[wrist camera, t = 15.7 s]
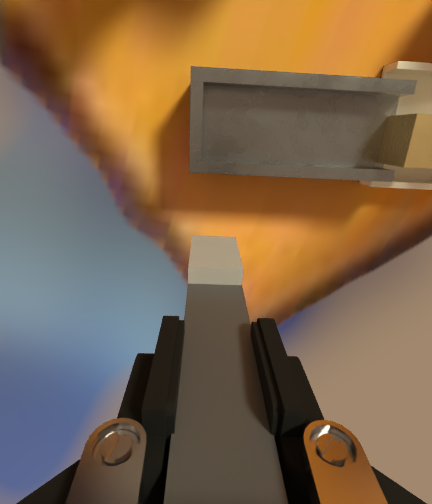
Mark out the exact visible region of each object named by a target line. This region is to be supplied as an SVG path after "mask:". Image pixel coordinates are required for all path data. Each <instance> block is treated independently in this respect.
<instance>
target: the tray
mask: <svg viewBox="0 0 432 504" xmlns="http://www.w3.org/2000/svg"><path fill="white" fill-rule="evenodd" d="M381 78H389V79H405V80H417V84H416V88H415V92H414V94H413V95H407V96H402V97H399V102H398V106H397V110H396V115H406V114H417V113H418V114H432V63H424V62H409V61H397V62H394V63H391V64H389V65H386V66H383V71H382V76H381ZM383 168H385V169H390V170H395V173H394V177H393V181H392V182H380V181H359V183H360V184H363V185H366V186H369V187H381V188H403V189H425V190H432V169H428V168H407V167H399V166H393V165H387V164H384V166H383Z"/></svg>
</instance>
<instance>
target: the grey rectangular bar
mask: <svg viewBox="0 0 432 504" xmlns="http://www.w3.org/2000/svg"><path fill="white" fill-rule="evenodd" d="M242 279H243V266H242V261H241V257H240V253H239V249H238V245H237V241H236V237H218V236H192V242H191V250H190V258H189V267H188V289H187V299H186V307H185V317H184V320H185V334H184V344H183V353H182V363H181V373H180V383H179V393H178V402H177V412H176V422H175V432H174V434H171V442H170V451H169V460H168V469H167V478H166V487H165V496H164V504H288V500H287V495H286V490H285V486H284V481H283V476H282V472H281V467H280V462H279V458H278V453H277V448H276V443H275V439H274V435H271V433H270V428H269V423H268V418H267V413H266V408H265V403H264V398H263V394H262V389H261V384H260V379H259V374H258V369H257V364H256V359H255V354H254V349H253V344H252V339H251V334H250V332H251V326H250V321H249V316H248V312H247V307H246V302H245V298H244V293H243V288H242Z"/></svg>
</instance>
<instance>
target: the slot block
mask: <svg viewBox="0 0 432 504" xmlns="http://www.w3.org/2000/svg"><path fill="white" fill-rule="evenodd" d="M416 84H417V80H405V79H389V78H373V77H356V76H340V75H324V74H308V73H292V72H276V71H260V70H243V69H227V68H211V67H195V66H191V91H190V147H189V173H208V174H230V175H251V176H273V177H294V178H316V179H337V180H359V181H380V182H392V181H393V177H394V173H395V170H390V169H385V168H383V166H384V164H381V163H378V159H379V155H380V150H381V146H382V141H383V137H384V132H385V128H386V124H387V119H388V116H394V115H396V110H397V106H398V102H399V97H402V96H407V95H413V94H414V92H415V88H416Z"/></svg>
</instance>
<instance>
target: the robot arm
mask: <svg viewBox="0 0 432 504" xmlns="http://www.w3.org/2000/svg"><path fill="white" fill-rule="evenodd" d="M184 334H185V320H179V316H163V319H162V324H161V328H160V332H159V337H158V341H157V345H156V349H155V354H144V353H138V354H137V356H136V359H135V362H134V365H133V369H132V372H131V375H130V378H129V381H128V385H127V388H126V391H125V394H124V397H123V401H122V404H121V407H120V410H119V413H118V417H117V419H112V420H110V421H107V422H105V423H103V424H102V425H101V426H99V427H98V428H97V429H95V431H94V432H93V433H92V434H91V435H90V436H89V439H88V440H87V442H86V444H85V447H84V451H83V453H82V456H81V459H80V460H78V461H77V462H76V463H74V464H73V465H71V466H70V467H68V468H67V469H65V470H64V471H62V472H61V473H60V474H58V475H57V476H55V477H54V478H53V479H51V480H50V481H48V482H47V483H45V484H44V485H42V486H41V487H40V488H38V489H37V490H35V491H34V492H33V493H31V494H30V495H28V496H27V497H25V498H24V499H22V500H21V501H20V502H18V503H17V504H164V496H165V487H166V478H167V469H168V460H169V451H170V442H171V434H174V432H175V422H176V412H177V402H178V393H179V383H180V373H181V363H182V353H183V344H184ZM250 334H251V339H252V344H253V349H254V354H255V359H256V364H257V369H258V374H259V379H260V384H261V389H262V394H263V398H264V403H265V408H266V413H267V418H268V423H269V428H270V433H271V435H274V439H275V443H276V448H277V453H278V458H279V462H280V467H281V472H282V476H283V481H284V486H285V490H286V495H287V500H288V504H426V503H425V502H423V501H422V500H421V499H419V498H418V497H416V496H415V495H413V494H411V493H410V492H409V491H407V490H406V489H404V488H403V487H401V486H400V485H399V484H397V483H396V482H394V481H393V480H391V479H390V478H388V477H387V476H385V475H384V474H382V473H381V472H379V471H378V470H376V469H375V468H374V467H372V466H371V465H370V463H369V461H368V459H367V457H366V454H365V453H364V450H363V448H362V446H361V444H360V442H359V441H358V439H357V438H356V437H355V436H354V435H353V434H352V433H351V432H350V431H349V430H348V429H347V428H345V427H344V426H342V425H340V424H338V423H335V422H333V421H328V420H324V418H323V415H322V413H321V410H320V408H319V406H318V403H317V401H316V398H315V396H314V394H313V391H312V389H311V386H310V384H309V381H308V379H307V376H306V374H305V371H304V369H303V367H302V365H301V362H300V360H299V358H298V357H294V356H287V354H286V351H285V348H284V346H283V343H282V340H281V337H280V335H279V332H278V329H277V326H276V323H275V321H274V319H272V318H258V319H257V322H252V324H251V332H250Z"/></svg>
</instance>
